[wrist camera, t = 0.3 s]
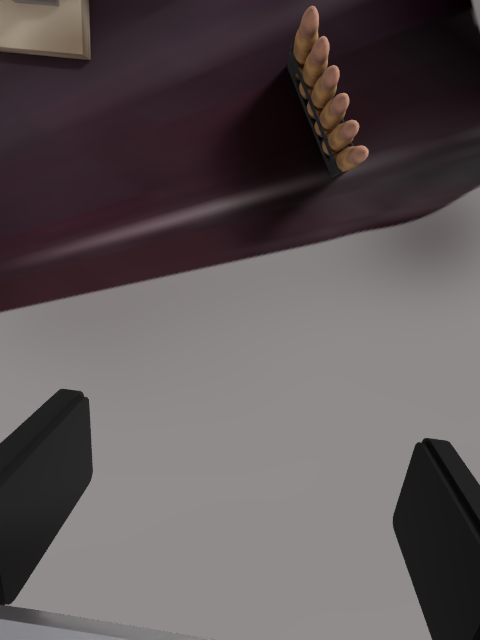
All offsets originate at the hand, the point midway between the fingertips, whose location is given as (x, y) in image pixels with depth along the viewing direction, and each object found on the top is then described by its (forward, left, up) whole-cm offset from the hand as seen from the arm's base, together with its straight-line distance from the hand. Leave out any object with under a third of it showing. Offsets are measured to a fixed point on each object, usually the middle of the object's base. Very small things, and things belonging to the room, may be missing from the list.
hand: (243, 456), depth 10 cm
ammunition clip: (-14, +3, -31) cm, 34 cm away
